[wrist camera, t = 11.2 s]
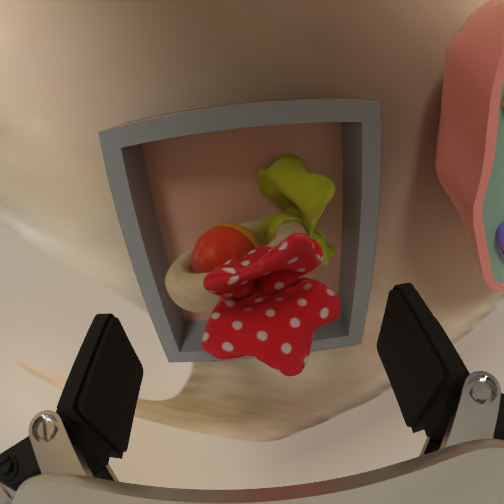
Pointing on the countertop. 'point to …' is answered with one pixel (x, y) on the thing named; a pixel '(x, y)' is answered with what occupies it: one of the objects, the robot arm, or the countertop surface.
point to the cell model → (476, 136)
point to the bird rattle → (263, 274)
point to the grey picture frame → (245, 197)
